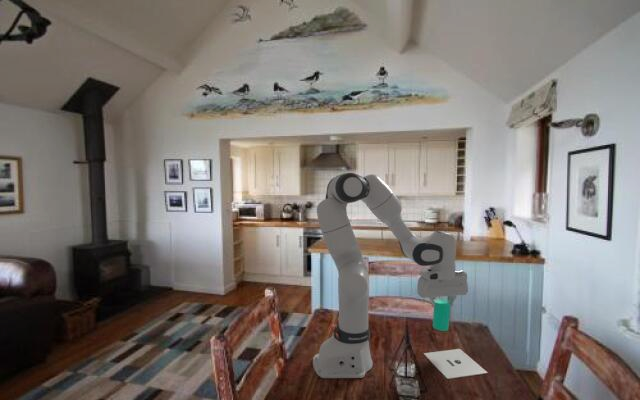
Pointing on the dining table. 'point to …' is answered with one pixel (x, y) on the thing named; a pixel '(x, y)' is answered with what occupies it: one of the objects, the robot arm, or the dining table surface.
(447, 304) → the candle
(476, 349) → the dining table surface
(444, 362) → the tile
